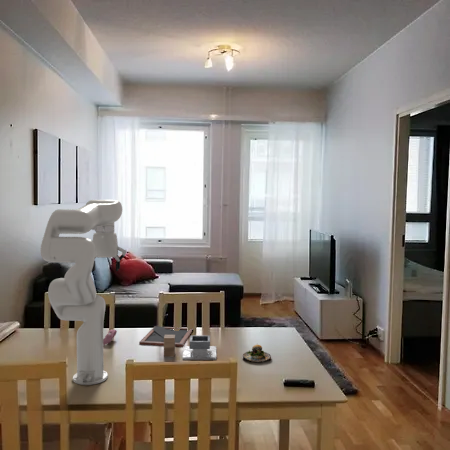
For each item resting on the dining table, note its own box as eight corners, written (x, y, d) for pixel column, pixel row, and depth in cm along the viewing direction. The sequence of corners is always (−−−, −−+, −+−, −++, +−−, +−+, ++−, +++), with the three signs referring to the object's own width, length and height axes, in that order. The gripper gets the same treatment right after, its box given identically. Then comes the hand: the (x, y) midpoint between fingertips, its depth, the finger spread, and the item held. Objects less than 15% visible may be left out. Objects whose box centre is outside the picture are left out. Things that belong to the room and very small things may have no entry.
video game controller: (107, 349, 216) (114, 335, 215) (98, 344, 216) (105, 331, 215) (113, 342, 225) (120, 329, 225) (104, 337, 225) (111, 324, 225)
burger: (238, 361, 198) (238, 344, 198) (248, 353, 209) (248, 336, 209) (265, 366, 194) (266, 348, 193) (274, 357, 204) (275, 340, 204)
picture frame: (154, 329, 243) (139, 345, 218) (154, 325, 243) (139, 341, 218) (193, 331, 240) (182, 348, 215) (193, 327, 240) (182, 343, 215)
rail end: (174, 356, 203) (174, 337, 203) (163, 356, 203) (163, 337, 202) (175, 352, 208) (175, 334, 207) (164, 352, 207) (164, 334, 207)
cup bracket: (216, 359, 200) (216, 343, 199) (182, 359, 199) (182, 343, 199) (216, 348, 214) (216, 333, 213) (184, 348, 213) (184, 333, 213)
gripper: (81, 230, 194) (82, 272, 195) (125, 230, 195) (125, 272, 197) (85, 228, 201) (86, 269, 203) (127, 229, 203) (127, 269, 204)
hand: (105, 270), depth 200 cm, fingers open, 9 cm apart
